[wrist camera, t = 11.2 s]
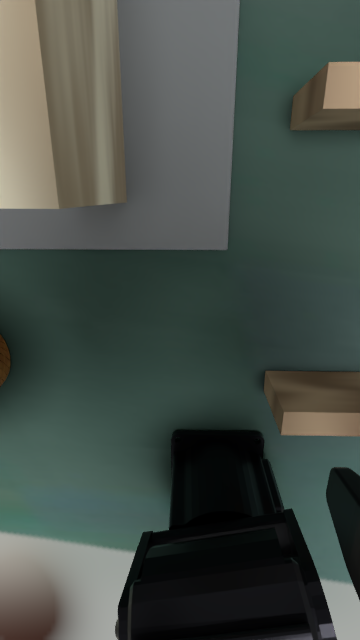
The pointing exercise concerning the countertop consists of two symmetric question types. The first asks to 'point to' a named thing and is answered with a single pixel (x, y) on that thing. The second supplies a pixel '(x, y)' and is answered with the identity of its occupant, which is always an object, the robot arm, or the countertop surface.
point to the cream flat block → (60, 105)
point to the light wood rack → (317, 386)
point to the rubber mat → (160, 137)
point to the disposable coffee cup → (4, 361)
